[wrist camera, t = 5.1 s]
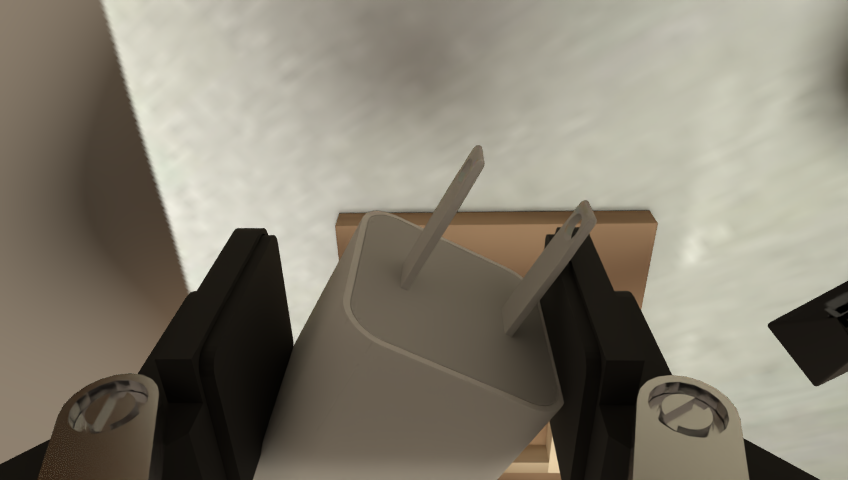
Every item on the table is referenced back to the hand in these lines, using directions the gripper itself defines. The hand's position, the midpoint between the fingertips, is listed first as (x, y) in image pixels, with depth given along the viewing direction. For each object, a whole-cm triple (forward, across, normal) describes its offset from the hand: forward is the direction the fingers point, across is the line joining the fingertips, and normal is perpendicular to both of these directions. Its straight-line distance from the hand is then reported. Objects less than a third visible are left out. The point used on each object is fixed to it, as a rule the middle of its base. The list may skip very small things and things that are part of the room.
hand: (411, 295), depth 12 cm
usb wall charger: (+1, 0, 0) cm, 1 cm away
